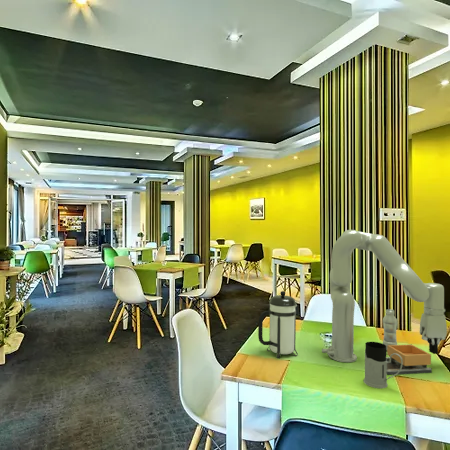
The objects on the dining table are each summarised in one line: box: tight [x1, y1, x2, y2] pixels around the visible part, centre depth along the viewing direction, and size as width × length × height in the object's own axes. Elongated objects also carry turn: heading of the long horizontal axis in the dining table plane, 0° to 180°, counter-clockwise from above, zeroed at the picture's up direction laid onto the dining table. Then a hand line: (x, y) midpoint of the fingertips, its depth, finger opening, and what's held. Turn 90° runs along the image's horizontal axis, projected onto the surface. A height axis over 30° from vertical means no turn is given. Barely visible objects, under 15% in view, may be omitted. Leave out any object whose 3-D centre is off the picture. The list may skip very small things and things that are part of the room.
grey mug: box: [363, 341, 403, 389], centre depth 129 cm, size 9×14×15 cm, turn 43°
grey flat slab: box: [386, 356, 433, 376], centre depth 146 cm, size 20×13×2 cm, turn 97°
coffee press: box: [257, 290, 299, 359], centre depth 159 cm, size 17×16×30 cm
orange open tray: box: [386, 344, 432, 368], centre depth 146 cm, size 12×12×6 cm
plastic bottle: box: [382, 308, 398, 351], centre depth 165 cm, size 6×7×20 cm
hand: (433, 352), depth 148 cm, fingers closed
